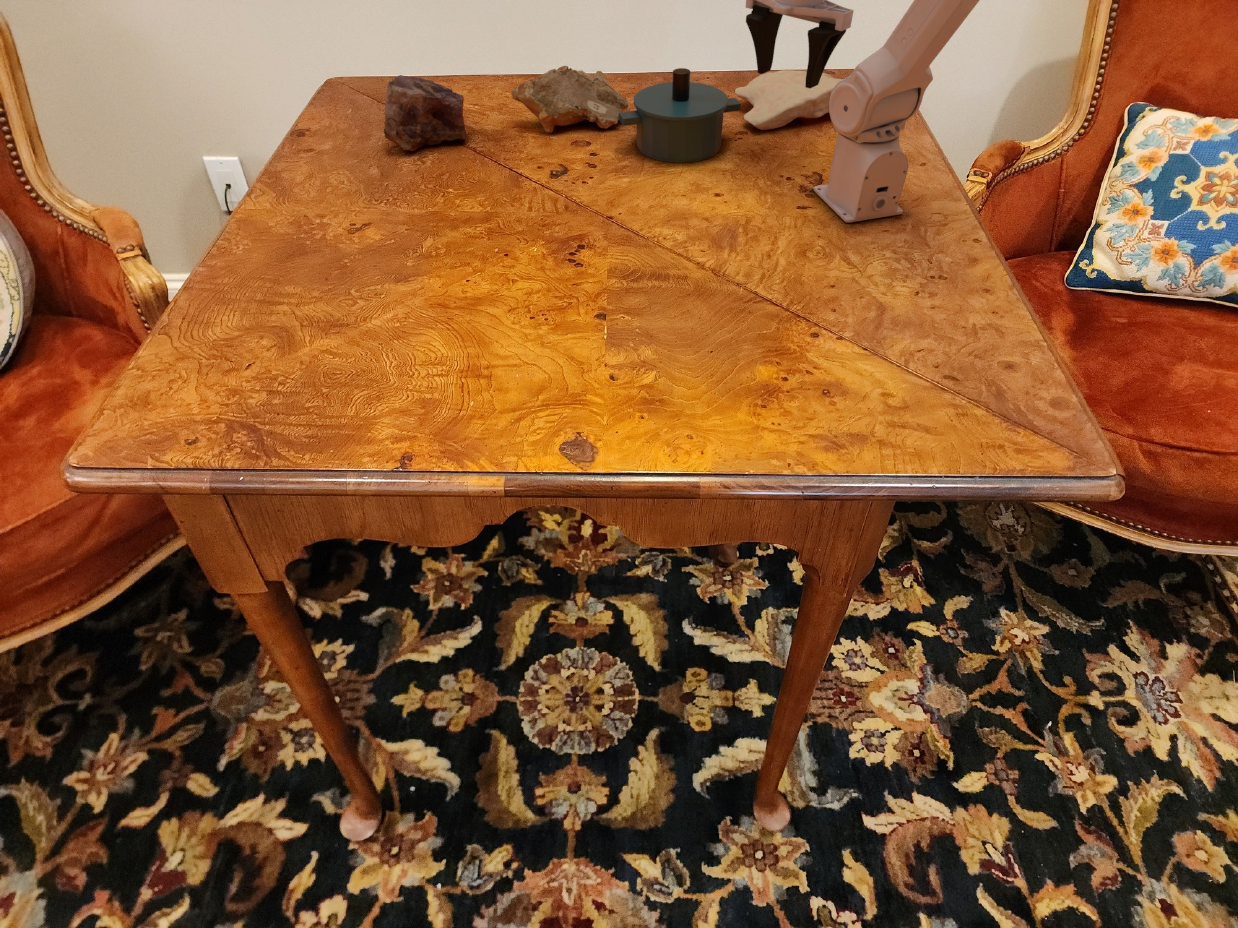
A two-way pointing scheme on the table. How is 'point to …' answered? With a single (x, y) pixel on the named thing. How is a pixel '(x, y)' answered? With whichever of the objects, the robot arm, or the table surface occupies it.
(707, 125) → the pot
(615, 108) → the mineral specimen
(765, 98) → the decorative stone
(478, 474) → the table surface
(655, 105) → the lid
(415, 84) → the rock
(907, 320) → the table surface
